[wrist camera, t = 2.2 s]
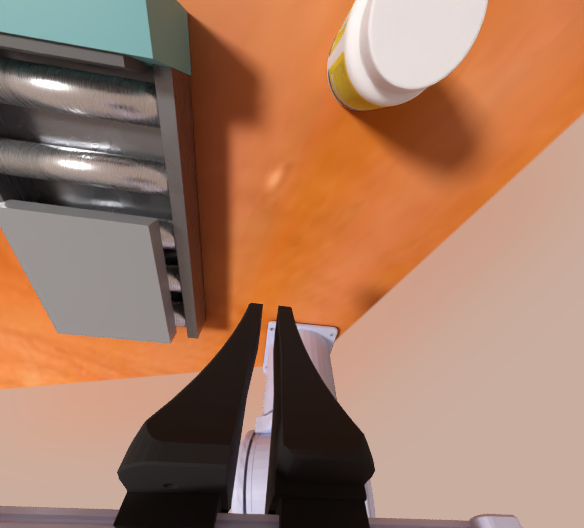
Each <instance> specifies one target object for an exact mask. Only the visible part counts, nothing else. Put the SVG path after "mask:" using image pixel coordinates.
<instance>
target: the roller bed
mask: <svg viewBox="0 0 584 528" xmlns="http://www.w3.org/2000/svg"><path fill="white" fill-rule="evenodd" d="M152 65H153V68H148V67H146V74H143V73H137V72H131V71H126V70H120V69H114V68H108V67H102V66H97V65H91V64H85V63H79V62H74V61H68V60H62V59H56V58H50V57H45V56H39V55H33V54H27V53H21V52H16V51H10V50H4V49H0V202H4V201H7V200H18V201H26V202H34V203H42V204H49V205H57V206H65V207H73V208H80V209H88V210H96V211H104V212H112V213H119V214H127V215H135V216H143V217H150V218H158V221H159V227H160V233H161V239H162V245H163V252H164V258H165V264H166V270H167V276H168V282H169V288H170V294H171V301H172V307H173V313H174V319H175V325H176V326H182V327H187V334H188V338H198V337H199V334H200V332H201V330H202V327H203V325H204V323H205V320H206V309H205V294H204V279H203V265H202V250H201V235H200V220H199V205H198V190H197V175H196V160H195V145H194V130H193V115H192V101H191V86H190V75H188V74H185V73H183V72H181V71H179V70H176V69H174V68H172V67H167V66H161V65H156V64H152Z"/></svg>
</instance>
